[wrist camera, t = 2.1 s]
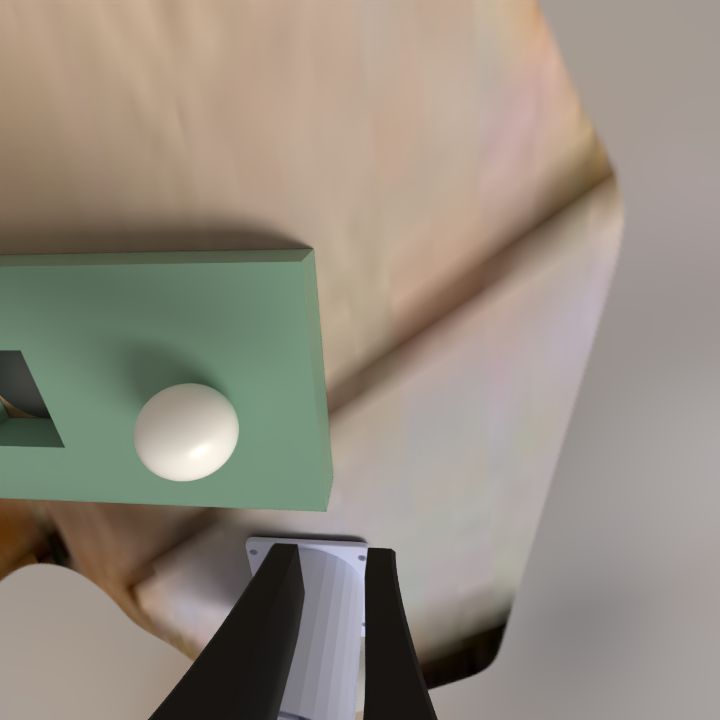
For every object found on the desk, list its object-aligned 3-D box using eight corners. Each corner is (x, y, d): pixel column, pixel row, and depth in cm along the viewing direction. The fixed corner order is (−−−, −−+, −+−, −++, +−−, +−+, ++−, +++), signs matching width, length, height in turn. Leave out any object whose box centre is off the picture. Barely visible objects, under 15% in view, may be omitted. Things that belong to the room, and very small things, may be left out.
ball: (257, 440, 19) (225, 505, 15) (178, 438, 19) (128, 501, 16) (244, 366, 17) (203, 420, 14) (156, 366, 18) (95, 417, 14)
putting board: (333, 477, 23) (326, 511, 21) (-12, 466, 25) (-53, 495, 23) (313, 248, 17) (301, 261, 15) (-134, 257, 19) (-204, 270, 17)
